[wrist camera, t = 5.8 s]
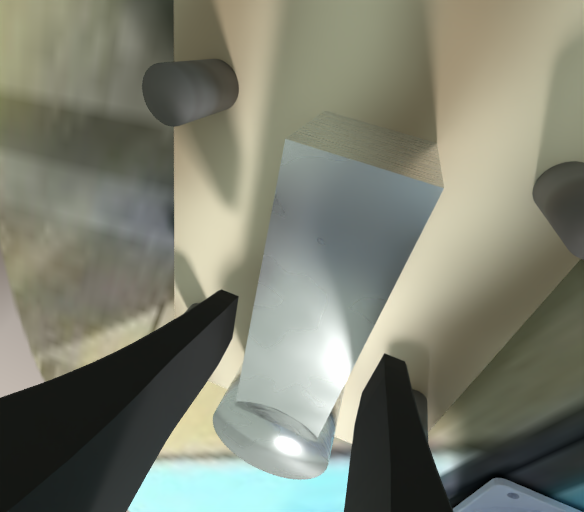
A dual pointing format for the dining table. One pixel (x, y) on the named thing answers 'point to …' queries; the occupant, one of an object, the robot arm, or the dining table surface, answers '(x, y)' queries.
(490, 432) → the dining table surface
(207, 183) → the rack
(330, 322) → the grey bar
